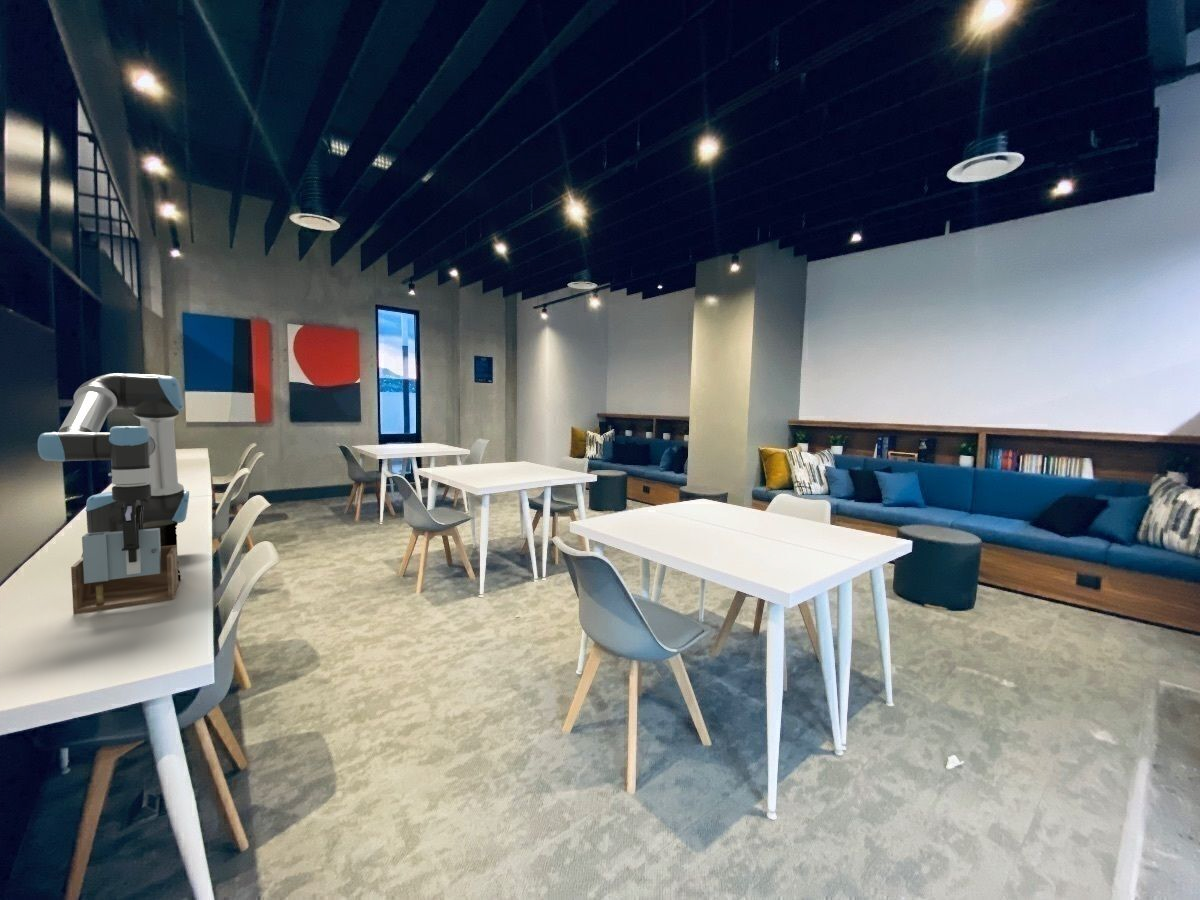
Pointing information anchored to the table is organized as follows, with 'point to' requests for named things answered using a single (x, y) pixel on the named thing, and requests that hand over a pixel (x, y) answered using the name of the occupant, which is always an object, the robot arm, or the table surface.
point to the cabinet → (126, 586)
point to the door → (118, 555)
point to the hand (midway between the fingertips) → (135, 571)
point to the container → (165, 533)
